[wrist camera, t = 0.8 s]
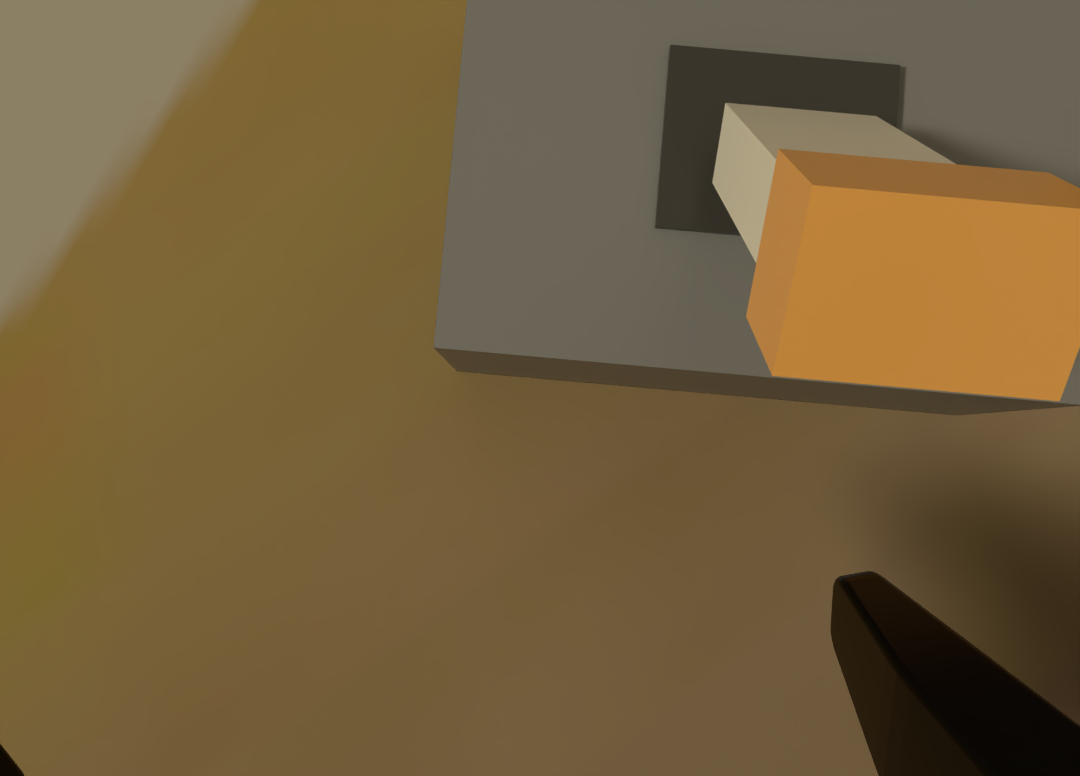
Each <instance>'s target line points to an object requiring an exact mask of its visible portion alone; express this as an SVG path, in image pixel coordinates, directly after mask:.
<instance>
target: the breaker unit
mask: <svg viewBox="0 0 1080 776" xmlns="http://www.w3.org/2000/svg"><path fill="white" fill-rule="evenodd" d="M725 103H735V104H746V105H757V106H769V107H780V108H791V109H802V110H814V111H825V112H836V113H847V114H859V115H870V116H877V117H879V118H880V119H882V120H884V121H885V122H887V123H889V124H890V125H892V126H894V127H895V128H897V129H899V130H900V131H902V132H904V133H905V134H907V135H909V136H910V137H912V138H914V139H915V140H917V141H919V142H920V143H922V144H924V145H925V146H927V147H929V148H930V149H932V150H934V151H935V152H937V153H939V154H940V155H942V156H944V157H945V158H947V159H949V160H950V161H952V162H954V163H955V164H957V165H969V166H980V167H991V168H1002V169H1014V170H1025V171H1036V172H1048V173H1050V174H1052V175H1054V176H1056V177H1058V178H1060V179H1062V180H1064V181H1066V182H1068V183H1070V184H1072V185H1074V186H1076V187H1078V188H1080V0H467V7H466V17H465V27H464V38H463V48H462V59H461V69H460V79H459V90H458V100H457V111H456V121H455V131H454V142H453V152H452V163H451V173H450V183H449V194H448V204H447V215H446V225H445V235H444V246H443V256H442V267H441V277H440V287H439V298H438V308H437V319H436V329H435V339H434V348H435V349H436V350H437V351H438V352H439V353H440V354H441V355H442V356H443V357H444V358H445V359H446V360H447V361H448V362H449V364H450V365H451V366H452V367H453V368H454V369H455V370H456V371H461V372H473V373H484V374H495V375H507V376H518V377H529V378H541V379H552V380H563V381H575V382H586V383H597V384H609V385H620V386H631V387H642V388H654V389H665V390H676V391H688V392H699V393H710V394H722V395H733V396H744V397H756V398H767V399H778V400H790V401H801V402H812V403H824V404H835V405H846V406H858V407H869V408H880V409H892V410H903V411H914V412H926V413H937V414H948V415H967V414H980V413H993V412H1005V411H1018V410H1031V409H1044V408H1057V407H1070V406H1080V348H1079V351H1078V353H1077V356H1076V359H1075V362H1074V364H1073V367H1072V370H1071V372H1070V375H1069V378H1068V380H1067V383H1066V386H1065V388H1064V391H1063V394H1062V396H1061V399H1060V401H1050V400H1039V399H1028V398H1016V397H1005V396H994V395H982V394H971V393H960V392H948V391H937V390H926V389H914V388H903V387H892V386H881V385H869V384H858V383H847V382H835V381H824V380H813V379H801V378H790V377H779V376H772V374H771V372H770V370H769V367H768V365H767V363H766V361H765V358H764V356H763V354H762V352H761V349H760V347H759V345H758V343H757V340H756V338H755V336H754V333H753V331H752V329H751V327H750V324H749V322H748V320H747V318H746V314H747V309H748V303H749V298H750V293H751V288H752V283H753V278H754V272H755V267H756V262H755V260H754V258H753V256H752V255H751V253H750V251H749V249H748V247H747V245H746V244H745V242H744V240H743V238H742V236H741V234H740V233H739V231H738V229H737V227H736V225H735V223H734V222H733V220H732V218H731V216H730V214H729V212H728V211H727V209H726V207H725V205H724V203H723V201H722V200H721V198H720V196H719V194H718V192H717V190H716V189H715V187H714V185H713V183H712V182H713V176H714V169H715V163H716V157H717V151H718V145H719V139H720V133H721V127H722V121H723V114H724V108H725Z"/></svg>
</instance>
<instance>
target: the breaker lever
mask: <svg viewBox="0 0 1080 776" xmlns="http://www.w3.org/2000/svg"><path fill="white" fill-rule="evenodd" d="M712 183H713V185H714V187H715V189H716V190H717V192H718V194H719V196H720V198H721V200H722V201H723V203H724V205H725V207H726V209H727V211H728V212H729V214H730V216H731V218H732V220H733V222H734V223H735V225H736V227H737V229H738V231H739V233H740V234H741V236H742V238H743V240H744V242H745V244H746V245H747V247H748V249H749V251H750V253H751V255H752V256H753V258H754V260H755V262H756V267H755V272H754V278H753V283H752V288H751V293H750V298H749V303H748V309H747V314H746V318H747V320H748V322H749V324H750V327H751V329H752V331H753V333H754V336H755V338H756V340H757V343H758V345H759V347H760V349H761V352H762V354H763V356H764V358H765V361H766V363H767V365H768V367H769V370H770V372H771V374H772V376H779V377H790V378H801V379H813V380H824V381H835V382H847V383H858V384H869V385H881V386H892V387H903V388H914V389H926V390H937V391H948V392H960V393H971V394H982V395H994V396H1005V397H1016V398H1028V399H1039V400H1050V401H1060V399H1061V396H1062V394H1063V391H1064V388H1065V386H1066V383H1067V380H1068V378H1069V375H1070V372H1071V370H1072V367H1073V364H1074V362H1075V359H1076V356H1077V353H1078V351H1079V348H1080V188H1078V187H1076V186H1074V185H1072V184H1070V183H1068V182H1066V181H1064V180H1062V179H1060V178H1058V177H1056V176H1054V175H1052V174H1050V173H1048V172H1036V171H1025V170H1014V169H1002V168H991V167H980V166H969V165H957V164H955V163H954V162H952V161H950V160H949V159H947V158H945V157H944V156H942V155H940V154H939V153H937V152H935V151H934V150H932V149H930V148H929V147H927V146H925V145H924V144H922V143H920V142H919V141H917V140H915V139H914V138H912V137H910V136H909V135H907V134H905V133H904V132H902V131H900V130H899V129H897V128H895V127H894V126H892V125H890V124H889V123H887V122H885V121H884V120H882V119H880V118H879V117H877V116H870V115H859V114H847V113H836V112H825V111H814V110H802V109H791V108H780V107H769V106H757V105H746V104H735V103H725V108H724V114H723V121H722V127H721V133H720V139H719V145H718V151H717V157H716V163H715V169H714V176H713V182H712Z"/></svg>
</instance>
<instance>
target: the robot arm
mask: <svg viewBox="0 0 1080 776" xmlns="http://www.w3.org/2000/svg"><path fill="white" fill-rule="evenodd" d="M831 637H832V642H833V646H834V650H835V653H836V656H837V658H838V661H839V664H840V667H841V670H842V673H843V676H844V678H845V681H846V684H847V687H848V690H849V693H850V696H851V698H852V701H853V704H854V707H855V710H856V713H857V716H858V718H859V721H860V724H861V727H862V730H863V733H864V736H865V738H866V741H867V744H868V747H869V750H870V753H871V756H872V758H873V761H874V764H875V767H876V769H877V772H878V775H879V776H1080V725H1078V724H1077V723H1076V722H1074V721H1073V720H1072V719H1070V718H1069V717H1068V716H1066V715H1065V714H1064V713H1062V712H1061V711H1060V710H1058V709H1057V708H1056V707H1054V706H1053V705H1052V704H1050V703H1049V702H1048V701H1046V700H1045V699H1044V698H1042V697H1041V696H1040V695H1038V694H1037V693H1036V692H1034V691H1033V690H1032V689H1031V688H1029V687H1028V686H1027V685H1025V684H1024V683H1023V682H1021V681H1020V680H1019V679H1017V678H1016V677H1015V676H1013V675H1012V674H1011V673H1009V672H1008V671H1007V670H1005V669H1004V668H1003V667H1001V666H1000V665H999V664H997V663H996V662H995V661H993V660H992V659H991V658H989V657H988V656H987V655H985V654H984V653H983V652H981V651H980V650H979V649H978V648H976V647H975V646H974V645H972V644H971V643H970V642H968V641H967V640H966V639H964V638H963V637H962V636H960V635H959V634H958V633H956V632H955V631H954V630H952V629H951V628H950V627H948V626H947V625H946V624H944V623H943V622H942V621H940V620H939V619H938V618H936V617H935V616H934V615H932V614H931V613H930V612H928V611H927V610H926V609H925V608H923V607H922V606H921V605H919V604H918V603H917V602H915V601H914V600H913V599H911V598H910V597H909V596H907V595H906V594H905V593H903V592H902V591H901V590H899V589H898V588H897V587H895V586H894V585H893V584H891V583H890V582H889V581H887V580H886V579H885V578H883V577H882V576H881V575H879V574H877V573H875V572H871V571H866V572H861V573H855V574H849V575H844V576H840V577H838V578H837V579H836V580H835V582H834V586H833V598H832V614H831ZM0 776H24V774H23V772H22V771H21V769H20V768H19V767H18V766H17V764H16V763H15V762H14V760H13V759H12V758H11V757H10V755H9V754H8V753H7V752H6V750H5V749H4V748H3V747H2V745H1V744H0Z"/></svg>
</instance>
